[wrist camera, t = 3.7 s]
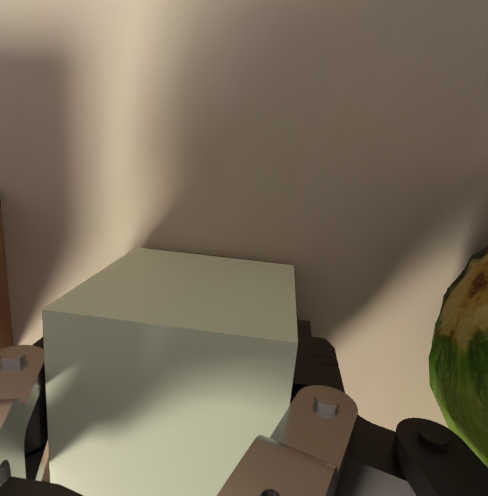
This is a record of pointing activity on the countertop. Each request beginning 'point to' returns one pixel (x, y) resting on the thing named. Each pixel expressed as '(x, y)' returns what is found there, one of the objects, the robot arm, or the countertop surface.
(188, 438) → the sage cube
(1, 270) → the walnut block
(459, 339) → the vegetable
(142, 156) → the countertop surface
